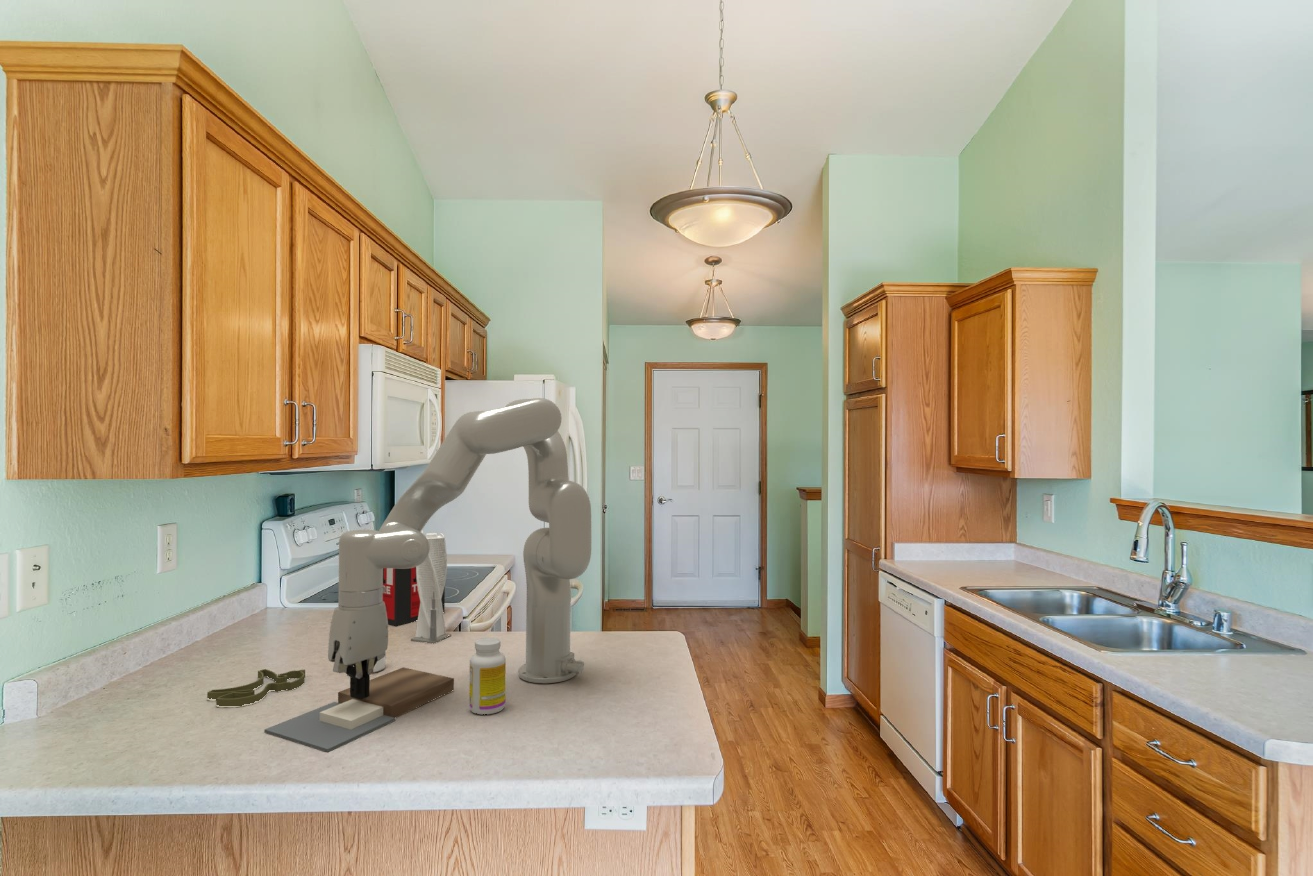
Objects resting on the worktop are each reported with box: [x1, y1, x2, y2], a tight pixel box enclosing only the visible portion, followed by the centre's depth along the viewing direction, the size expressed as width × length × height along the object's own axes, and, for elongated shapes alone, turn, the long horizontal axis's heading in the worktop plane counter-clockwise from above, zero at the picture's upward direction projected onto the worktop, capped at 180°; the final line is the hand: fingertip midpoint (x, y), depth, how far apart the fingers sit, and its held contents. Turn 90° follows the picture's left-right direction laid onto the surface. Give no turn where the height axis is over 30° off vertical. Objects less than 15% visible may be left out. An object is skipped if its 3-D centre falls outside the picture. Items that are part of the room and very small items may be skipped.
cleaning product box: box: [383, 567, 446, 628], centre depth 194 cm, size 16×9×20 cm, turn 149°
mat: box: [263, 701, 396, 753], centre depth 121 cm, size 16×14×1 cm
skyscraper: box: [410, 529, 452, 645], centre depth 175 cm, size 8×8×28 cm
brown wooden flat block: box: [337, 667, 455, 719], centre depth 135 cm, size 14×16×2 cm
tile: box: [320, 699, 383, 729], centre depth 124 cm, size 8×7×2 cm
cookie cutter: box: [206, 668, 306, 706], centre depth 137 cm, size 18×12×2 cm, turn 166°
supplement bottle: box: [468, 637, 507, 715], centre depth 130 cm, size 7×7×13 cm
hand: (359, 696), depth 126 cm, fingers closed
